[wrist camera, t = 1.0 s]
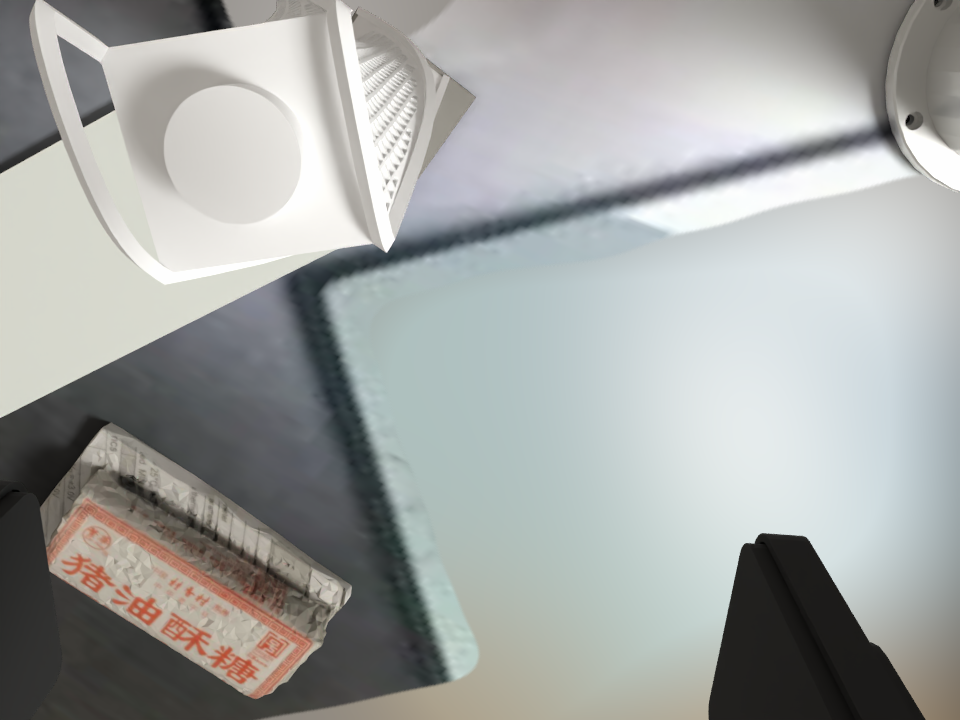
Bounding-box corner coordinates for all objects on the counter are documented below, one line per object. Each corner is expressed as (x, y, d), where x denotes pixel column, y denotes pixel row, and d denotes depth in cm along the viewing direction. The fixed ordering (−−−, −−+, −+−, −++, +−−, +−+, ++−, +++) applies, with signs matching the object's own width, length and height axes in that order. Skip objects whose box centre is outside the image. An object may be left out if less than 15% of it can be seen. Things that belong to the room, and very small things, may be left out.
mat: (234, 45, 41) (231, 45, 40) (345, 242, 45) (344, 245, 44) (-133, 249, 45) (-141, 252, 44) (-3, 417, 48) (-9, 422, 48)
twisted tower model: (258, 108, 42) (-94, 222, 16) (347, -34, 40) (107, -172, 14) (396, 208, 44) (283, 457, 18) (489, 78, 42) (514, 144, 16)
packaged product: (348, 631, 48) (249, 733, 51) (358, 580, 53) (267, 677, 56) (74, 452, 44) (-18, 574, 47) (112, 414, 49) (26, 526, 51)
